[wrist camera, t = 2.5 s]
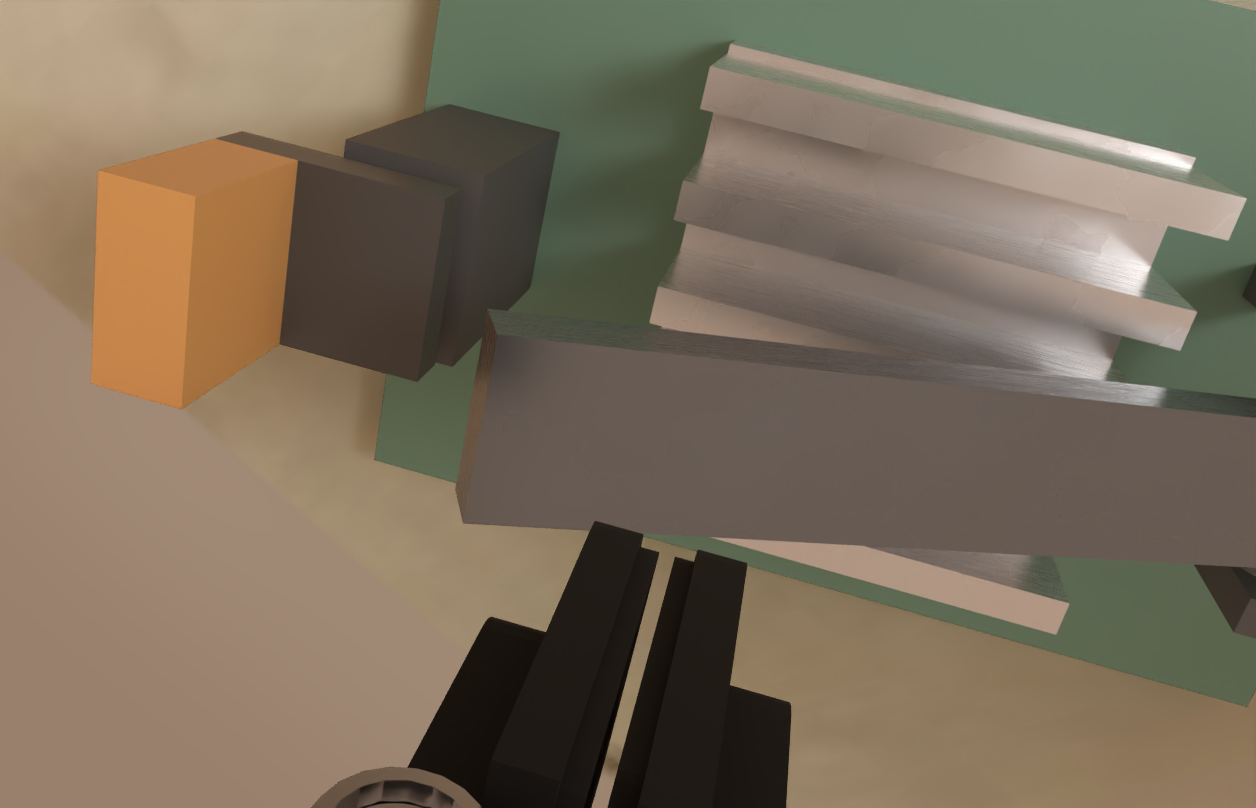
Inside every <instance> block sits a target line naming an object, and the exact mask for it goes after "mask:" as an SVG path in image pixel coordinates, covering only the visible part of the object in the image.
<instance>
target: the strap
mask: <svg viewBox="0 0 1256 808" xmlns="http://www.w3.org/2000/svg"><path fill="white" fill-rule="evenodd" d="M455 490H456V494H457V498H458V503H459V507H460V511H461V516H462V520H463V523H465V524H483V525H501V526H519V527H536V528H554V529H572V530H591V527H592V525H593V523H594V521H598V522H602V523H606V524H609V525H613V526H616V527H620V528H624V529H627V530H631V531H634V532H638V533H643V534H661V535H679V536H697V537H714V538H732V539H750V540H768V541H786V542H804V543H821V544H839V545H857V546H875V547H893V548H910V549H928V550H946V551H964V552H982V553H999V554H1017V555H1035V556H1053V557H1071V558H1089V559H1106V560H1124V561H1142V562H1160V563H1178V564H1195V565H1213V566H1231V567H1241V568H1243V569H1244V570H1245V571H1247V572H1249V573H1250V574H1252V575H1254V576H1256V398H1249V397H1240V396H1232V395H1223V394H1215V393H1206V392H1198V391H1189V390H1180V389H1172V388H1163V387H1155V386H1146V385H1138V384H1129V383H1120V382H1112V381H1103V380H1095V379H1086V378H1078V377H1069V376H1061V375H1052V374H1043V373H1035V372H1026V371H1018V370H1009V369H1001V368H992V367H984V366H975V365H966V364H958V363H949V362H941V361H932V360H924V359H915V358H906V357H898V356H889V355H881V354H872V353H864V352H855V351H847V350H838V349H829V348H821V347H812V346H804V345H795V344H787V343H778V342H769V341H761V340H752V339H744V338H735V337H727V336H718V335H710V334H701V333H692V332H684V331H675V330H667V329H658V328H650V327H641V326H633V325H624V324H615V323H607V322H598V321H590V320H581V319H573V318H564V317H555V316H547V315H538V314H530V313H521V312H513V311H504V310H496V309H487V313H486V319H485V325H484V330H483V336H482V342H481V347H480V353H479V359H478V364H477V370H476V376H475V381H474V387H473V393H472V398H471V404H470V410H469V415H468V421H467V427H466V432H465V438H464V444H463V449H462V455H461V461H460V466H459V472H458V478H457V483H456V489H455Z"/></svg>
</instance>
